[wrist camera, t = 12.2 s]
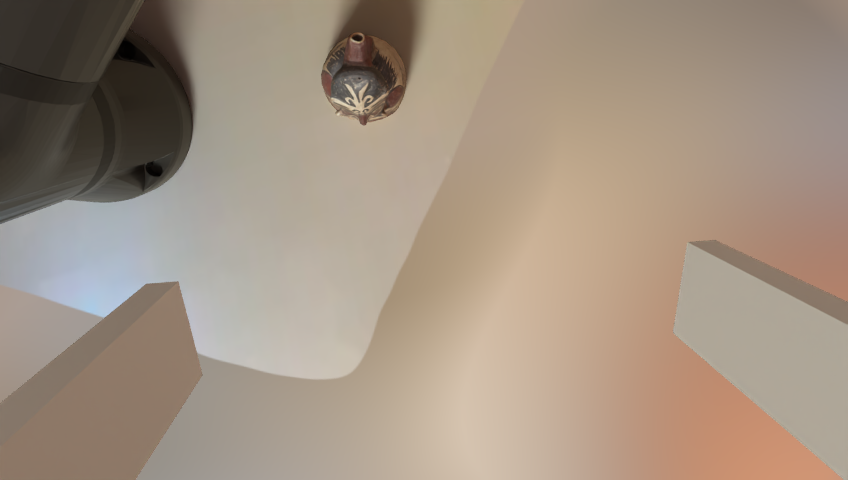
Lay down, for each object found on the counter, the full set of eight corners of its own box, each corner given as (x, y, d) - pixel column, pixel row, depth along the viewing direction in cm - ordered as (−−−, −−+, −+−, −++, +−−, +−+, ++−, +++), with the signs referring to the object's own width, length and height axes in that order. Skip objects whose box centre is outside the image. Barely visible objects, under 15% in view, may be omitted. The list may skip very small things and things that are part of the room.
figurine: (321, 114, 40) (295, 125, 28) (329, 29, 38) (304, 4, 26) (398, 127, 41) (403, 143, 29) (411, 45, 39) (421, 28, 27)
